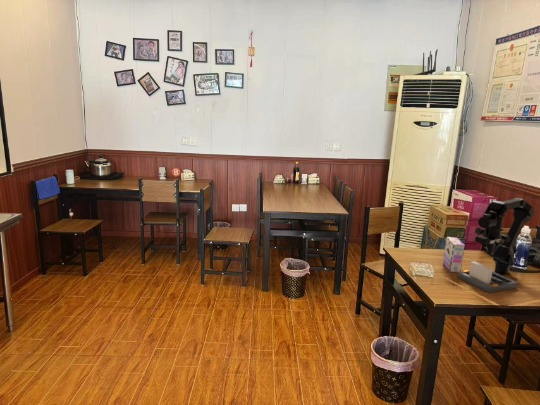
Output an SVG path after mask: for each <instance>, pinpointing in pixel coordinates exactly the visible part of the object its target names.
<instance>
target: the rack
mask: <svg viewBox="0 0 540 405" xmlns="http://www.w3.org/2000/svg"><path fill="white" fill-rule="evenodd" d="M469 272H470V270H468V269H466V270H465V269H464V270H461V272H458V275H457V279H459V280H461V281H463V282H465V283H467V284H469V285H471V286H473V287H475V288H477V289H479V290H481V291H484V292H485V293H488V294H493V293H498V292H499V293H500V292H503V291H509V290H514V289H518V288H517V287H518V284H519V283H518V281H516V280H513V279H511V278H509V277H506V276H504V275H502V274H500V273H497V272H495V271H492V276H491V282H490V285H488V284H486V283H484V282H482V281H480V280H478V279H476V278H474V277H472V276H470V275H469Z"/></svg>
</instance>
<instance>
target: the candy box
mask: <svg viewBox="0 0 540 405" xmlns="http://www.w3.org/2000/svg"><path fill="white" fill-rule="evenodd" d="M465 246H466V245H465V244H464V243H463V242H462V241H461V240H460V238H458V237H455V236H454V237H453V236H447V237H446V240H445V246H444V255H443V261H442V264H443V265H444V267H445V268H446V269H447V270H448V271H449V272H454V273H459V272H462V266H463V265H462V264H463V259H464V254H465Z"/></svg>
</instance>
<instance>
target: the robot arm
mask: <svg viewBox="0 0 540 405" xmlns="http://www.w3.org/2000/svg"><path fill="white" fill-rule="evenodd" d="M509 210H512V211H513V213H512V216H513V221H512V223H511V226H510V227H509V229H508V232H507V234H505V233H501V232H503V231H504V228H502V227H503V222H504V218H506V213H508V212H509ZM534 215H535V210H534V208H533V206H532V205H531V204H529V203H528V202H527V200H526V199H524V198H521V197H520V198H519V197H514V198H512V199H508V200H504V201H501V200H492V201H491V202H490V203H489V204H488V206H487V208H486V209H485V211H484V213H483V215H482V216H481V217H480V218H479V219H478V220H477V222H478V225H479V227H475V230H474V233H475V234H476V235H477V236H475V237H474V242H476V243H478V244H481V245H485V246H486V248H487V249H486V250H487V254H488V255H489V256H491V255H492V259H493V262H496V265H495V268H494V272H495V273H497V274H500V275H502V274H503V275H508V274H509V273H510V267H511V266H512V267H513V266H514V265H515V263H516V260H515V258H514V253H515V252H514V245H515V244H516V241H517V240H518V238H519V235H520V234H521V231H522V229H523V227H524V225H525V224H526V223H527V222H530V221H531V219H532V217H533V216H534ZM500 240H501V241H502V240H503V242H500Z"/></svg>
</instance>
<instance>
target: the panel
mask: <svg viewBox="0 0 540 405" xmlns="http://www.w3.org/2000/svg"><path fill="white" fill-rule="evenodd" d="M493 270H494V268H491V267H489V266H487V265H485V264H482V263H479V262H478V261H471V262H470V268H469V271H470V272H469V275H470V276H472V277H474V278H476V279H478V280H480V281H482V282H484V283H486V284H488V285H490V282H491V276H492V271H493ZM493 272H494V271H493Z"/></svg>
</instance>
